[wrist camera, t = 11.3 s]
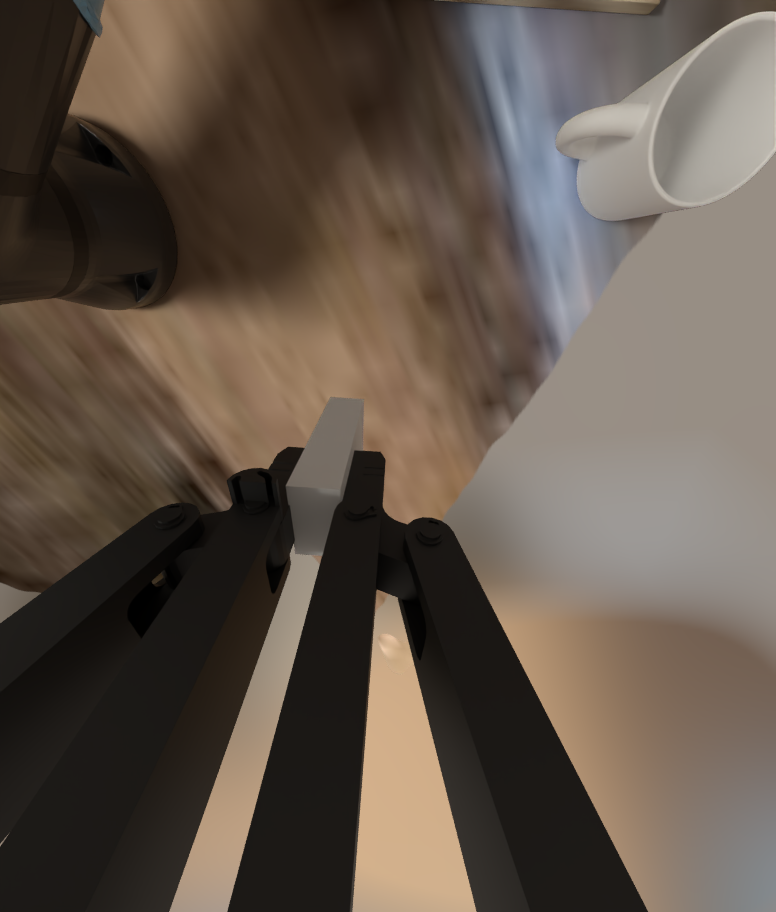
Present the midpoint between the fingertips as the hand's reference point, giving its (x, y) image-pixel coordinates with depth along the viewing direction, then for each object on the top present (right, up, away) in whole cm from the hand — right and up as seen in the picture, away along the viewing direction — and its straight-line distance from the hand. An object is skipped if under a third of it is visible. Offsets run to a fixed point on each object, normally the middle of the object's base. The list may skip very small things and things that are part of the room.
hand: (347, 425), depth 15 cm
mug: (+21, +24, +13) cm, 35 cm away
